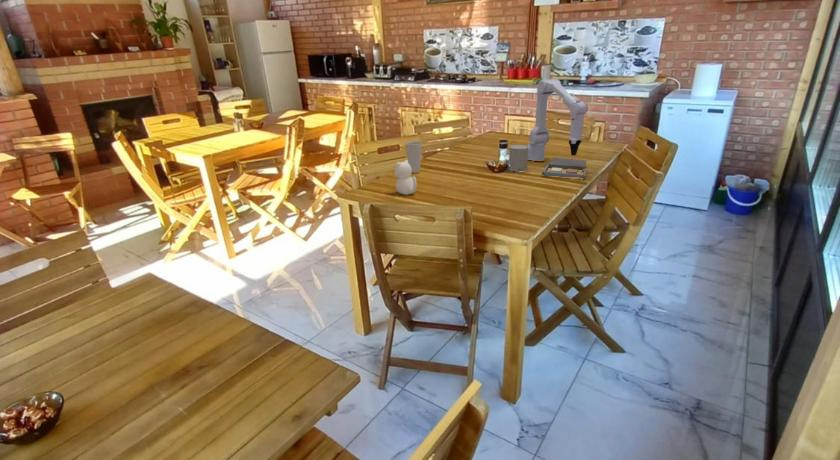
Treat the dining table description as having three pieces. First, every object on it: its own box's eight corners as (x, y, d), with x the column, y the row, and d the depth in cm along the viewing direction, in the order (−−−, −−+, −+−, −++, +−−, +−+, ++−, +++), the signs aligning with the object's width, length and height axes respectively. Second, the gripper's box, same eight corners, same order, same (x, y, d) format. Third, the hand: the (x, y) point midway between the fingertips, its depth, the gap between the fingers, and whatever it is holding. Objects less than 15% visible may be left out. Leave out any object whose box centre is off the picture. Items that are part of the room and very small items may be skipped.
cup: (420, 174, 235) (419, 144, 229) (404, 173, 237) (403, 144, 230) (423, 169, 242) (422, 140, 236) (408, 169, 244) (407, 140, 238)
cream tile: (552, 167, 230) (552, 171, 231) (550, 170, 226) (550, 173, 227) (562, 168, 228) (562, 172, 229) (561, 170, 224) (560, 174, 225)
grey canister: (506, 171, 235) (507, 148, 230) (511, 166, 243) (512, 144, 238) (524, 173, 231) (525, 149, 226) (529, 168, 238) (530, 145, 233)
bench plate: (548, 169, 235) (548, 164, 234) (552, 162, 247) (553, 157, 245) (582, 172, 228) (583, 166, 227) (585, 165, 240) (586, 160, 239)
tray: (541, 176, 225) (542, 171, 224) (546, 169, 235) (546, 164, 234) (583, 180, 217) (584, 175, 216) (586, 173, 228) (587, 168, 227)
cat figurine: (404, 188, 215) (402, 157, 209) (423, 193, 207) (422, 161, 201) (391, 193, 209) (388, 161, 203) (410, 198, 201) (408, 165, 195)
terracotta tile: (567, 168, 227) (567, 172, 228) (566, 171, 223) (565, 175, 224) (577, 169, 225) (577, 173, 226) (576, 172, 221) (576, 176, 222)
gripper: (583, 131, 211) (580, 159, 217) (586, 125, 223) (583, 152, 229) (568, 130, 214) (565, 158, 220) (572, 124, 226) (569, 151, 232)
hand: (573, 155), depth 224 cm, fingers closed
